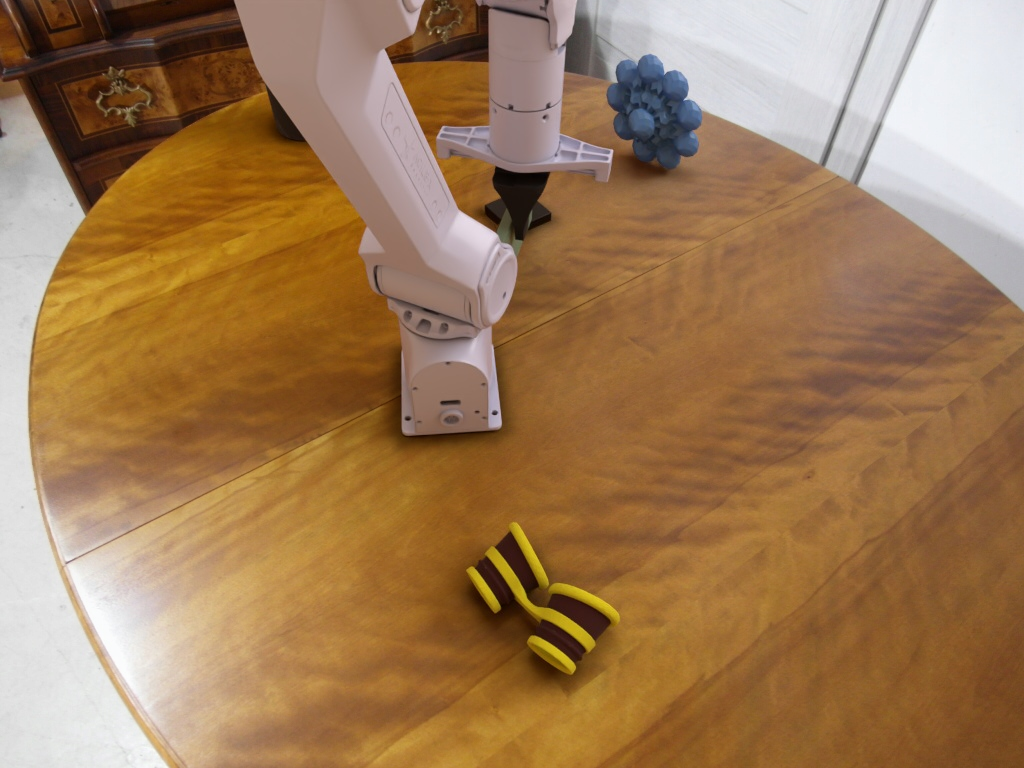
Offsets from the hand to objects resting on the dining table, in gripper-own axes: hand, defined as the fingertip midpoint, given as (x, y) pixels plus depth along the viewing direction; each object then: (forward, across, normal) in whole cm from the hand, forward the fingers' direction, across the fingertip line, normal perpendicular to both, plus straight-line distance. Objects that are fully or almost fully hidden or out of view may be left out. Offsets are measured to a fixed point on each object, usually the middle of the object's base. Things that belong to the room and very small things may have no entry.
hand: (521, 233), depth 70 cm
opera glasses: (+6, -8, +33) cm, 34 cm away
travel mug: (+6, +30, -21) cm, 37 cm away
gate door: (+4, +2, -2) cm, 5 cm away
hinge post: (+5, +2, -9) cm, 11 cm away
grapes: (+6, -9, -22) cm, 25 cm away
